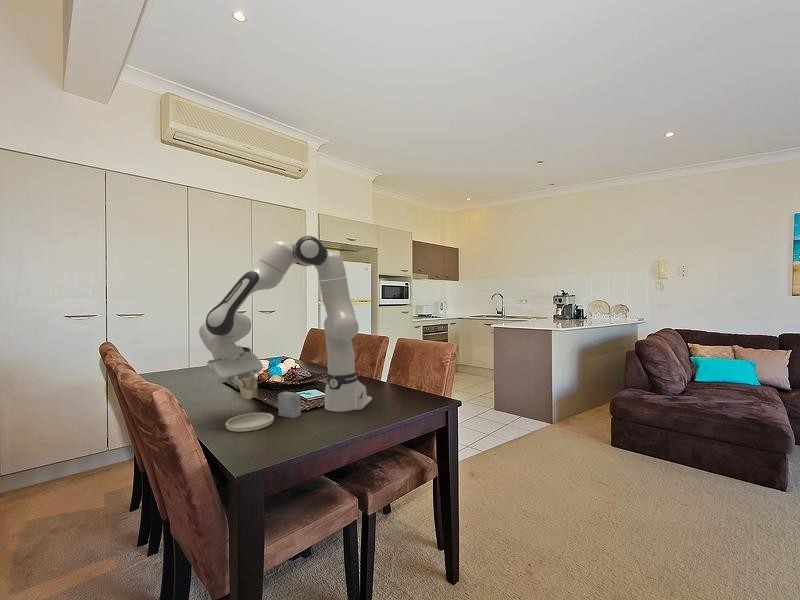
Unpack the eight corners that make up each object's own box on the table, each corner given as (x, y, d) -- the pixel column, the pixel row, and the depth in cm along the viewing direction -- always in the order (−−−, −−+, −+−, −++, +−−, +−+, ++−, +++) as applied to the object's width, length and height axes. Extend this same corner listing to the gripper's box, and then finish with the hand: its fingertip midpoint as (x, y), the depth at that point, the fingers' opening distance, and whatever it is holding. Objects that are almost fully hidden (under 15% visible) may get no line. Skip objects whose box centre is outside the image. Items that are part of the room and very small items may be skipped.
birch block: (249, 395, 142) (248, 376, 141) (257, 396, 140) (256, 377, 140) (240, 398, 138) (240, 378, 138) (248, 399, 136) (248, 379, 136)
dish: (250, 415, 150) (250, 410, 150) (282, 420, 143) (282, 415, 143) (215, 428, 135) (215, 424, 135) (249, 435, 129) (249, 430, 129)
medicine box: (301, 415, 148) (300, 393, 148) (292, 419, 144) (292, 396, 144) (286, 412, 152) (286, 391, 152) (277, 416, 148) (277, 393, 148)
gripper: (208, 355, 132) (230, 386, 128) (253, 347, 151) (273, 373, 147) (200, 367, 134) (220, 398, 130) (245, 357, 153) (264, 384, 149)
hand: (249, 385), depth 139 cm, fingers closed on birch block, 4 cm apart
